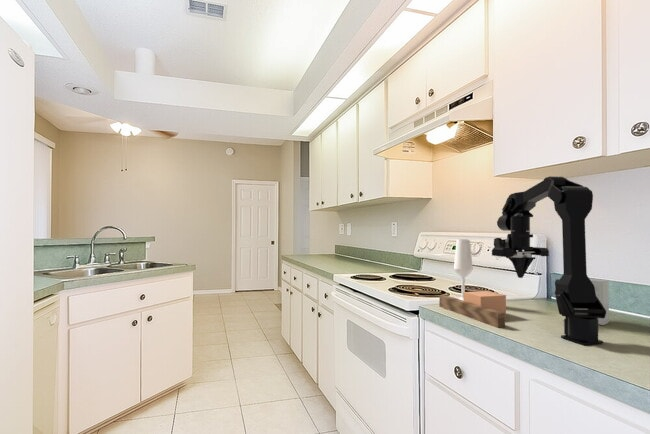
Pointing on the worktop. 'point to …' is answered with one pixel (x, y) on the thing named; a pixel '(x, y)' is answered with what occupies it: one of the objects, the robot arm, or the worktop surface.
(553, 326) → the worktop surface
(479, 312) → the plank
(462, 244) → the champagne flute
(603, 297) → the small box
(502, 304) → the brick
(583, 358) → the worktop surface
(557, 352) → the worktop surface
